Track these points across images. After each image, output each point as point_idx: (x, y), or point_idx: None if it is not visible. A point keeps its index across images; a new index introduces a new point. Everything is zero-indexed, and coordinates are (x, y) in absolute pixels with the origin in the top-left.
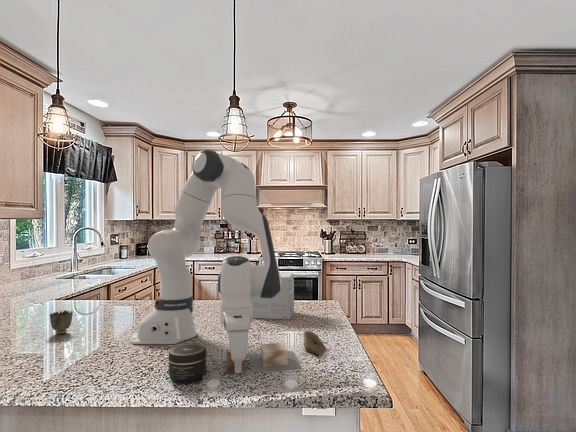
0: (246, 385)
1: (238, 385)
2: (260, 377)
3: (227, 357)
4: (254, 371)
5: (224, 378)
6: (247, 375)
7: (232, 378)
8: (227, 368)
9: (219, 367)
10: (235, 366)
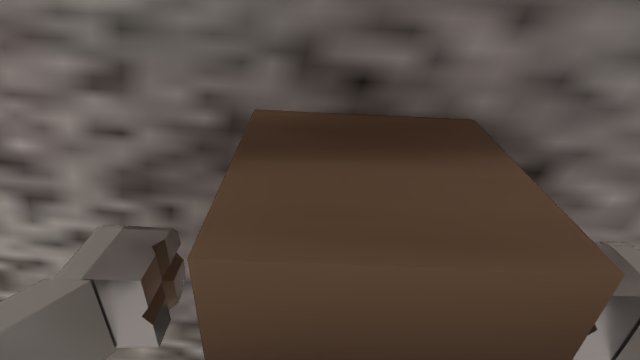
0: (30, 255)
1: (19, 196)
2: (192, 350)
3: (232, 260)
4: None
5: (198, 70)
6: None
7: (190, 157)
8: (238, 150)
9: (582, 23)
10: (37, 293)
